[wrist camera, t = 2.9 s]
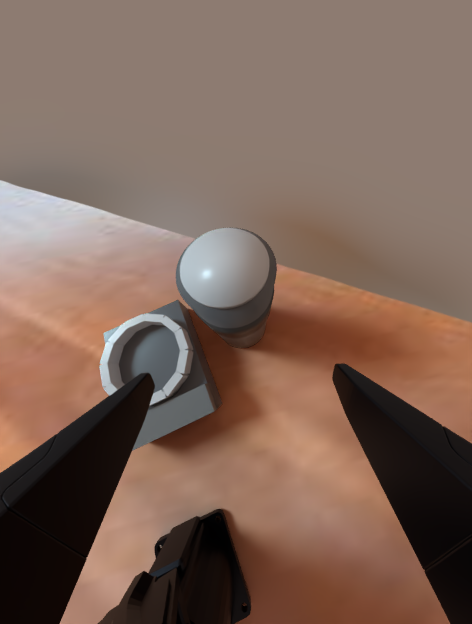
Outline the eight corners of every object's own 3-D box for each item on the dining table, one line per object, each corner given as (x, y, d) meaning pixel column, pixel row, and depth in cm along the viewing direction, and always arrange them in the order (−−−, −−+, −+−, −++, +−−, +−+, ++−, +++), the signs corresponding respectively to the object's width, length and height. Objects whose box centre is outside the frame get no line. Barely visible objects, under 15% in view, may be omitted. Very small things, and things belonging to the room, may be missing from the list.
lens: (274, 336, 21) (301, 285, 9) (229, 357, 21) (190, 336, 8) (253, 295, 23) (249, 206, 10) (211, 314, 22) (158, 246, 10)
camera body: (222, 403, 19) (213, 412, 15) (144, 440, 19) (111, 461, 14) (187, 308, 23) (171, 294, 19) (122, 337, 23) (91, 330, 18)
